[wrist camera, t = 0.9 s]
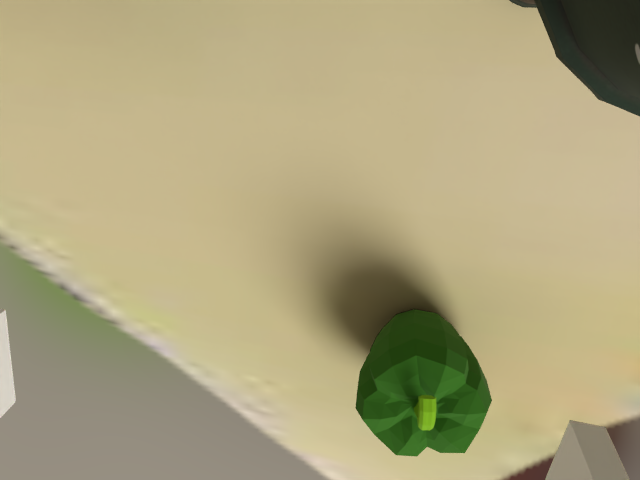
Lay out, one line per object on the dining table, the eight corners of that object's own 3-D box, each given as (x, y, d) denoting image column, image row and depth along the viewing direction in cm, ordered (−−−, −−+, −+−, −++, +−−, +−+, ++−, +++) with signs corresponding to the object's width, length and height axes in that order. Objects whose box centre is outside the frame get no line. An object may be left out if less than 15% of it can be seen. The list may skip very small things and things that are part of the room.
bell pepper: (448, 405, 43) (462, 513, 34) (347, 367, 43) (334, 465, 34) (499, 317, 40) (529, 411, 31) (390, 275, 40) (388, 358, 31)
